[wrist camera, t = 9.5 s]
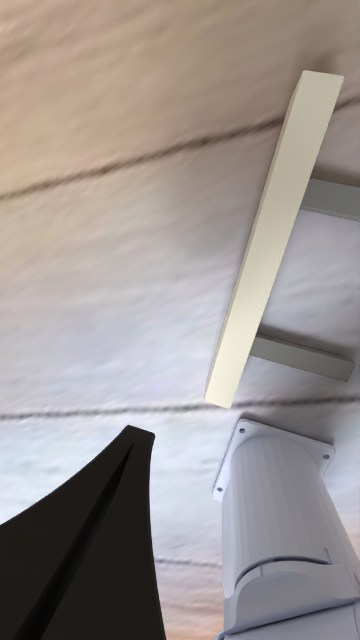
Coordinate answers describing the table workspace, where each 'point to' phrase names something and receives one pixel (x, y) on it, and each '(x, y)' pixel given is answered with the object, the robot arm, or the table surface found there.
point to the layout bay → (282, 242)
